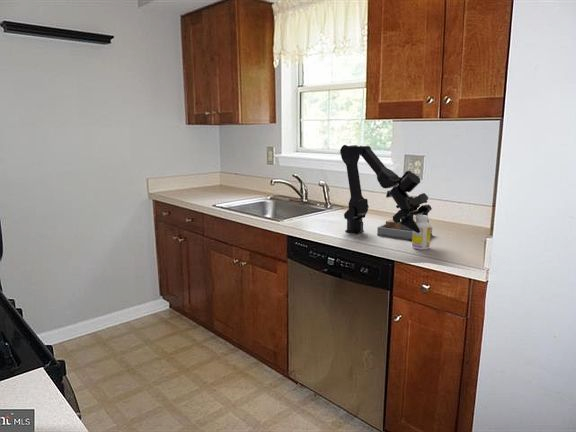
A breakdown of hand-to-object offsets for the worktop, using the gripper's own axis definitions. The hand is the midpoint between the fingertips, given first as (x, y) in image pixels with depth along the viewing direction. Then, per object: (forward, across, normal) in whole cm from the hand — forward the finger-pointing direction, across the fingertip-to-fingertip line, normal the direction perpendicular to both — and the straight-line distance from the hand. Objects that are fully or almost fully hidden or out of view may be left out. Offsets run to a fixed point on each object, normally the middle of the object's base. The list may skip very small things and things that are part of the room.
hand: (424, 231), depth 168 cm
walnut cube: (-12, +11, +21) cm, 26 cm away
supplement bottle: (+4, 0, +6) cm, 7 cm away
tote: (-8, +12, +18) cm, 23 cm away
